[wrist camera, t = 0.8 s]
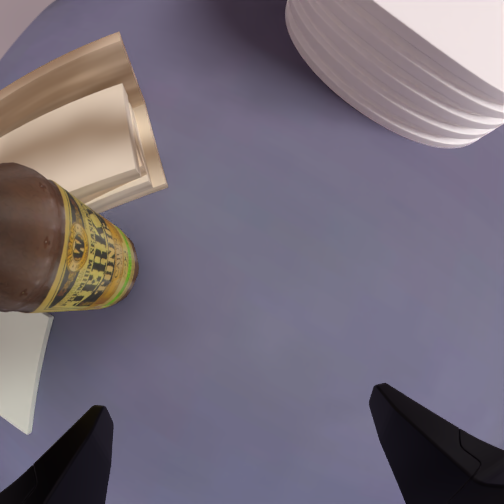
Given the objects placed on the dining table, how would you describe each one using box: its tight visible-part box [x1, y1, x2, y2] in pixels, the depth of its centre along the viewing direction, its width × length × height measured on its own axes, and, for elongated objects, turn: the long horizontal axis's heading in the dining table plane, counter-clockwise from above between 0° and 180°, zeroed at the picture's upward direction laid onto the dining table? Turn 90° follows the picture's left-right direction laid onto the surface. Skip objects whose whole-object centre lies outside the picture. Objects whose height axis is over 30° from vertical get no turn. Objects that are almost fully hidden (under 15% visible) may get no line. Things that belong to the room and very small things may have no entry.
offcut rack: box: [0, 32, 168, 214], centre depth 18 cm, size 9×13×9 cm
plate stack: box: [285, 0, 504, 148], centre depth 22 cm, size 28×28×12 cm
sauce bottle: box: [0, 162, 139, 313], centre depth 12 cm, size 6×6×20 cm
